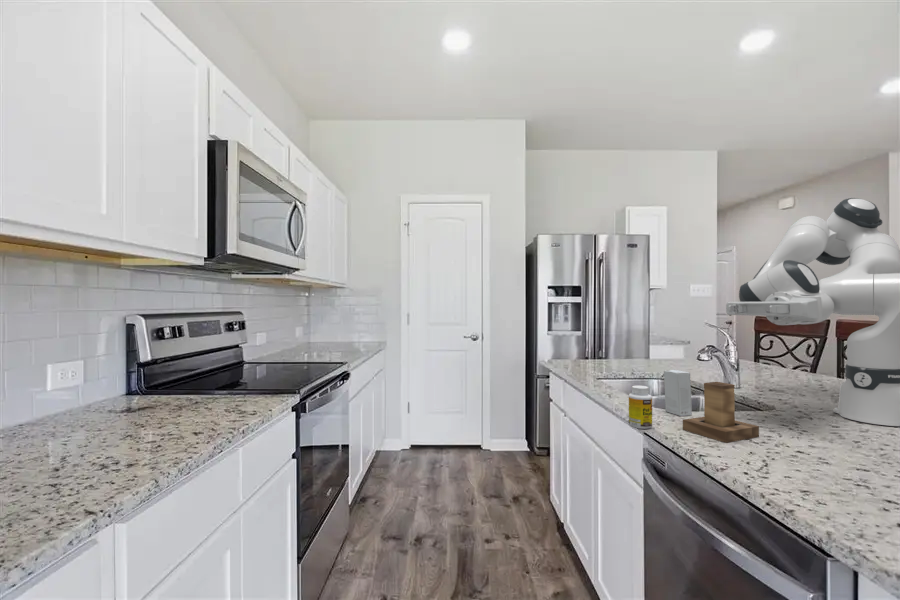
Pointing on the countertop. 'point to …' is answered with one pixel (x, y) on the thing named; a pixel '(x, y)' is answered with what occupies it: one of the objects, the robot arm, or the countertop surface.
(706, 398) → the peg
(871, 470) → the countertop surface
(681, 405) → the skincare box
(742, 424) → the wooden square frame
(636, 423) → the supplement bottle
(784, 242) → the robot arm
